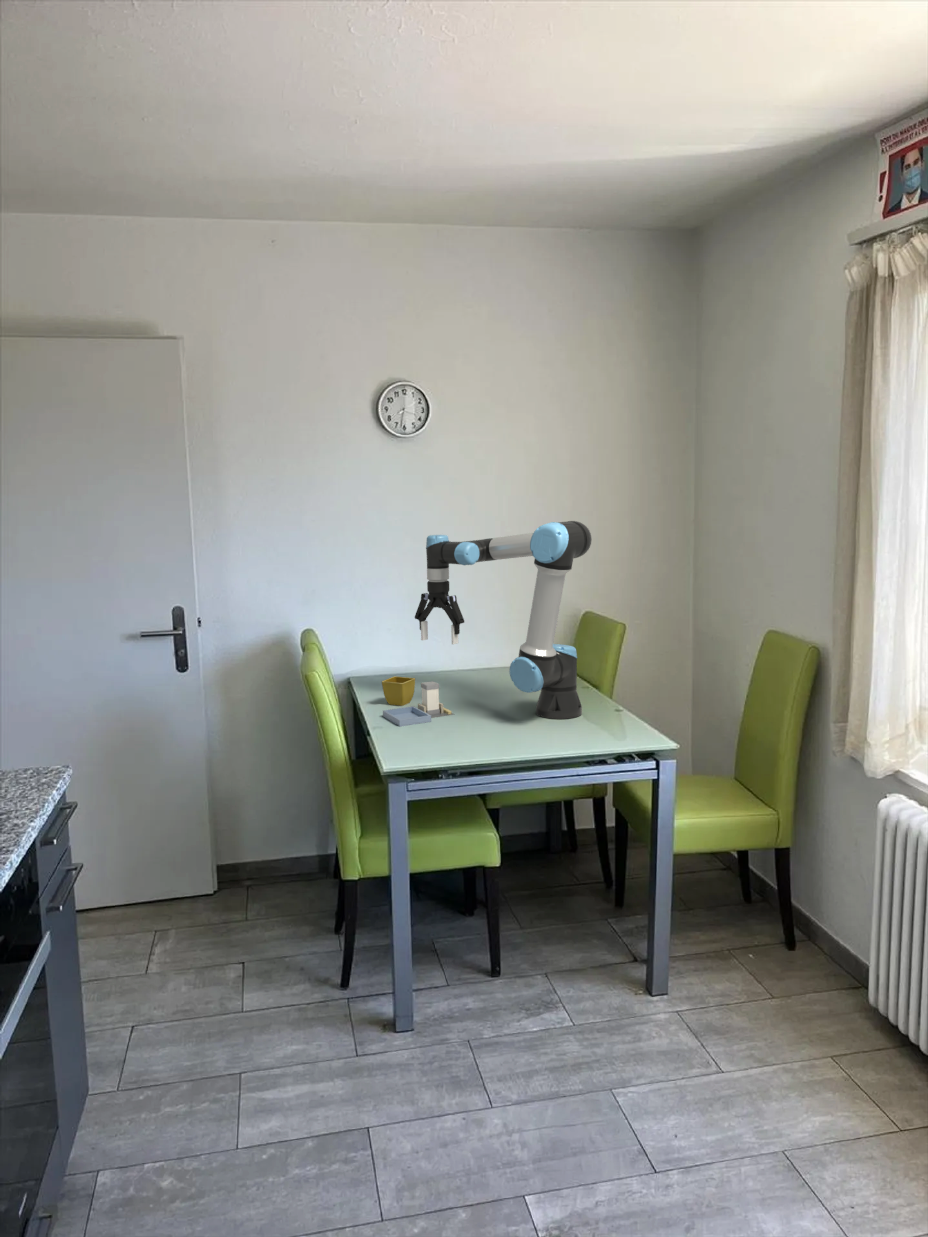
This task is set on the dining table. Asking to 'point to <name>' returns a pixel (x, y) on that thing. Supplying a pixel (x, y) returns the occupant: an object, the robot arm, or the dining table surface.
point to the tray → (406, 716)
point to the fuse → (430, 697)
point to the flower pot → (398, 690)
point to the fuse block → (442, 711)
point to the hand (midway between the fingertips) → (439, 641)
